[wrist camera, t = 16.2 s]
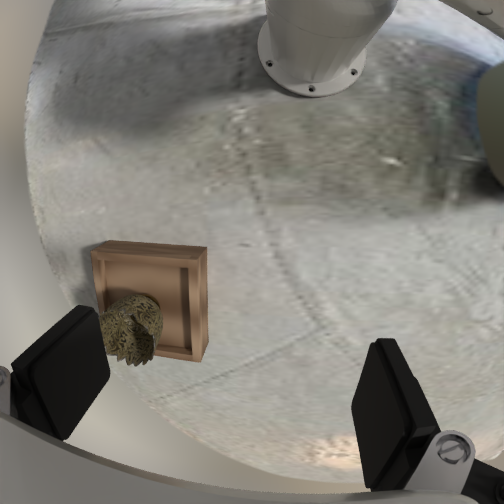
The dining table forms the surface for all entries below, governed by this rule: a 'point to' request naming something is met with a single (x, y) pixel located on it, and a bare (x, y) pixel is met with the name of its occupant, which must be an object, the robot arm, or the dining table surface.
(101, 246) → the shallow wooden tray
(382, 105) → the dining table surface
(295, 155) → the dining table surface
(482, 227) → the dining table surface
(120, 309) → the cup
